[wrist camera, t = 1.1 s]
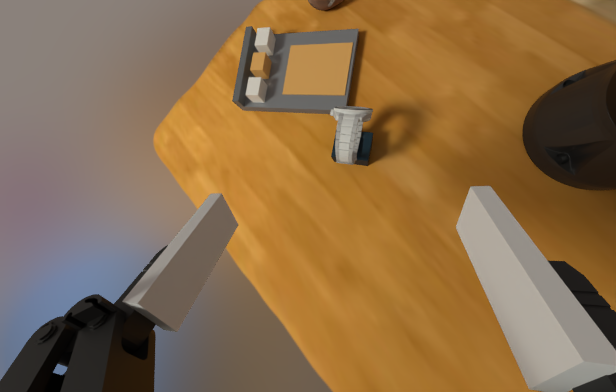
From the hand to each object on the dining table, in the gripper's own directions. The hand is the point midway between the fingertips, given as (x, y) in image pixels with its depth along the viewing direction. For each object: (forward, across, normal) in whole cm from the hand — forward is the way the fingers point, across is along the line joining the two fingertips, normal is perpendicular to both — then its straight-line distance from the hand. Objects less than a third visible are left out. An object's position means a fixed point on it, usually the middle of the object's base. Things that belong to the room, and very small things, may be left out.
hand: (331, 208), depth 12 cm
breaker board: (+34, -9, +1) cm, 36 cm away
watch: (+24, 0, -9) cm, 26 cm away
